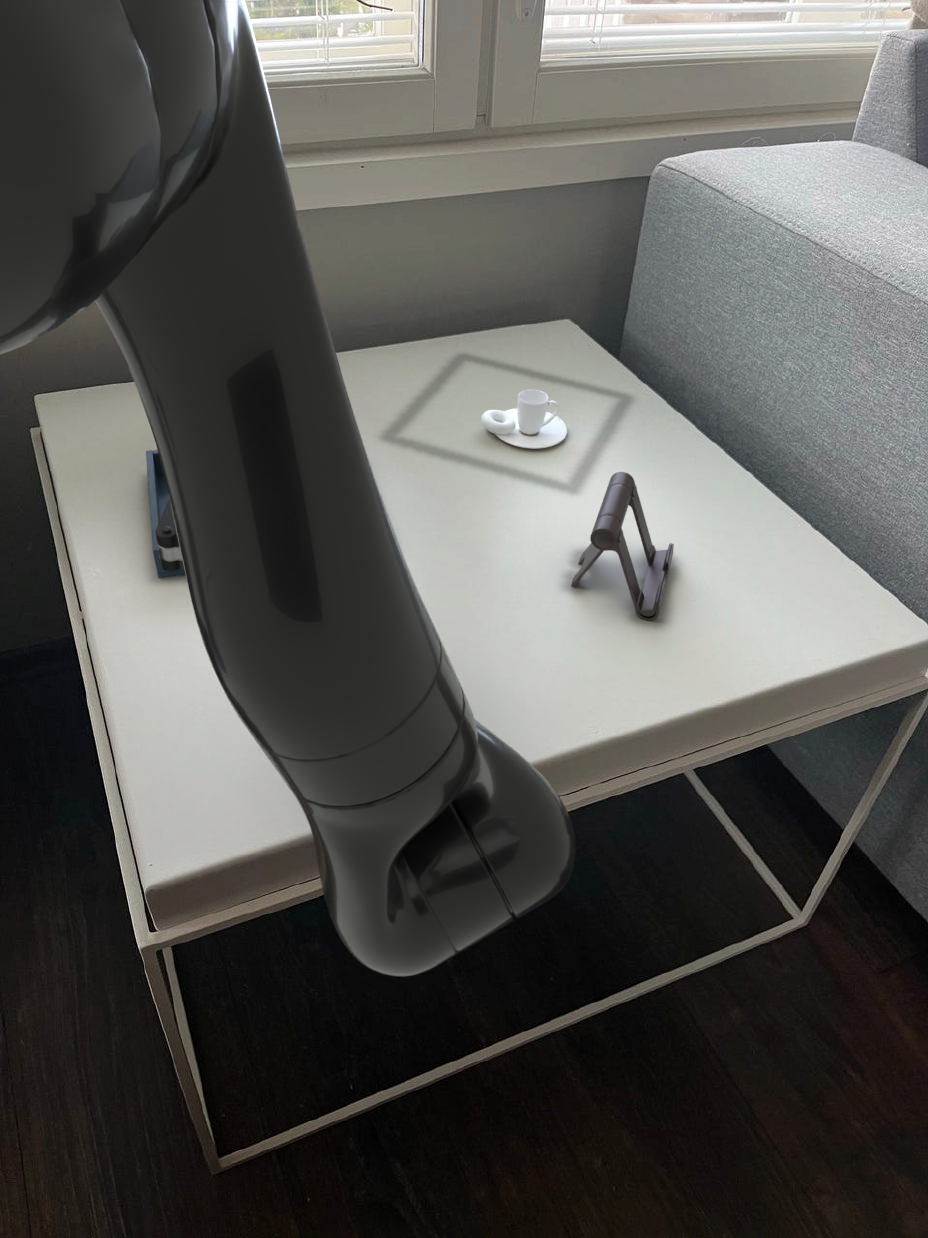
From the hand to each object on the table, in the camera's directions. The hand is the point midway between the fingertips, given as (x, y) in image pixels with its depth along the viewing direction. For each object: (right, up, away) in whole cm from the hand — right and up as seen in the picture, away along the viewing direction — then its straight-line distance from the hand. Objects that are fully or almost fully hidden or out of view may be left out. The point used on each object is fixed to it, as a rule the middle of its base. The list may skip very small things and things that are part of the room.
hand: (229, 444), depth 62 cm
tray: (-4, -1, +27) cm, 27 cm away
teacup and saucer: (+20, +10, +42) cm, 48 cm away
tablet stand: (+29, -8, +23) cm, 38 cm away
